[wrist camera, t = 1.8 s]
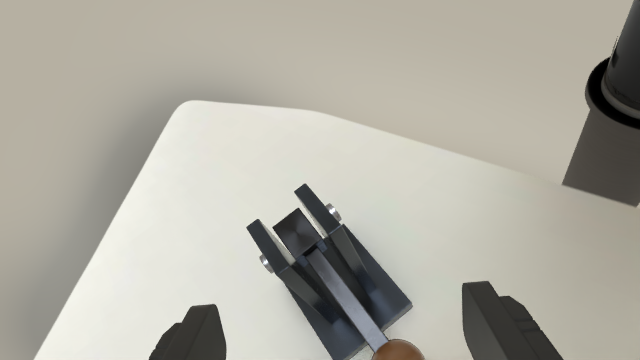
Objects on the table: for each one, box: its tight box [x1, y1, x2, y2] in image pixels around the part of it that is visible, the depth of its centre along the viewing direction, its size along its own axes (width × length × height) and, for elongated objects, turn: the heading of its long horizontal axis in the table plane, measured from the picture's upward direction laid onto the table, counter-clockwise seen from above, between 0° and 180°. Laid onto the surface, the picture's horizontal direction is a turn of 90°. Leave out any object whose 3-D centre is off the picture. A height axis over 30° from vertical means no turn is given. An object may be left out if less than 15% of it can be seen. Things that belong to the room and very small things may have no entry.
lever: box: [273, 208, 425, 360], centre depth 25 cm, size 13×3×3 cm, turn 34°
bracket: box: [246, 184, 413, 360], centre depth 31 cm, size 10×8×14 cm
